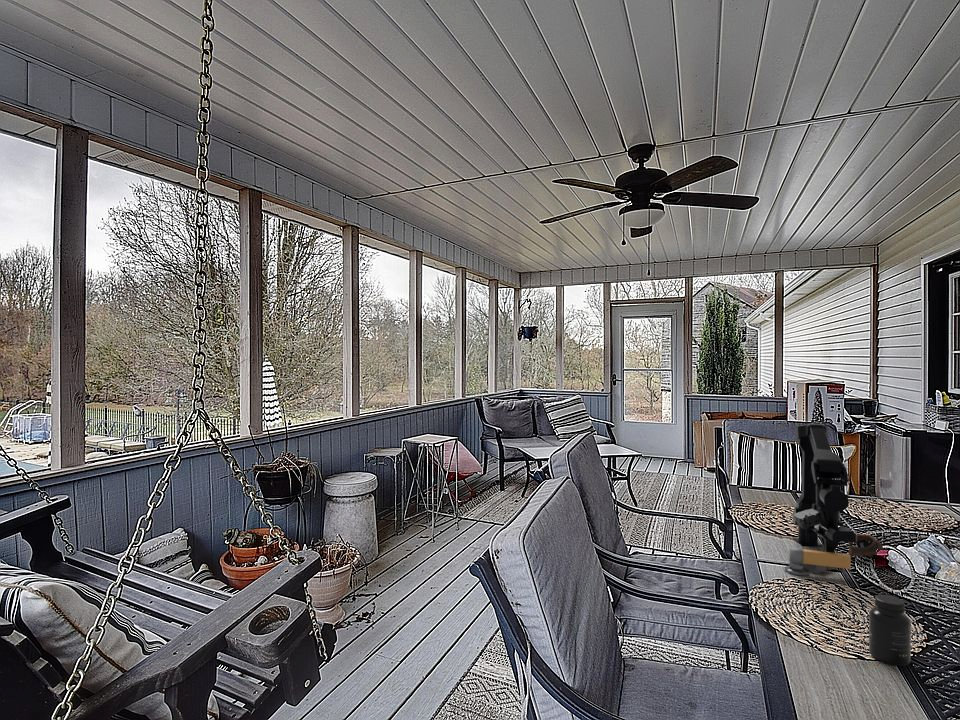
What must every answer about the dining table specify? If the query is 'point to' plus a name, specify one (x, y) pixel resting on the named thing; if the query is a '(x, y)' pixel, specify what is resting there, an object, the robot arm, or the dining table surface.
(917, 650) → the dining table surface
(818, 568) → the tile
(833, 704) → the dining table surface
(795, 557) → the bar
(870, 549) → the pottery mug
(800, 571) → the gray flanged disc
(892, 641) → the supplement bottle
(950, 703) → the dining table surface
